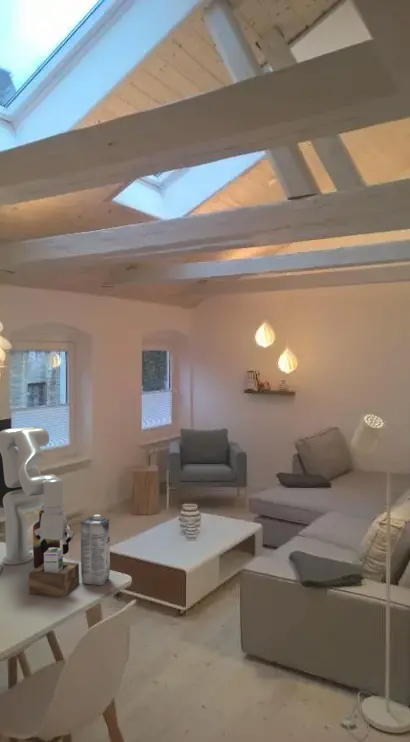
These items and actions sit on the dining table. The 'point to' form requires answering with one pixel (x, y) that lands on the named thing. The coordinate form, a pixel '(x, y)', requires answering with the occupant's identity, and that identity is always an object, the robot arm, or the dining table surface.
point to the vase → (37, 553)
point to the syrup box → (53, 560)
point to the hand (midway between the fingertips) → (54, 552)
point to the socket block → (54, 580)
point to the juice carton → (95, 550)
